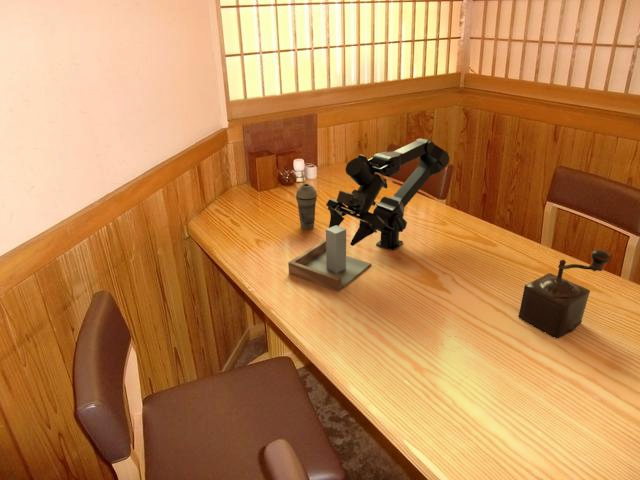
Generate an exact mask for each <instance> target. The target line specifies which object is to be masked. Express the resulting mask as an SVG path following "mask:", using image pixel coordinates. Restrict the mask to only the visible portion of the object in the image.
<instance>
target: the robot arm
mask: <svg viewBox="0 0 640 480" xmlns="http://www.w3.org/2000/svg"><path fill="white" fill-rule="evenodd" d="M418 158H419V159H418ZM416 159H418V166H417V167H416V168H415V169H414V171H413V172H412V173H411V174H410V176H408V178H407V179H406V180H405V181H404V183H403V184H402V185H401V186H400V187H399V189H397V191H396V192H395V193H394V194H393V196H391V197H388V196H383V197H382V198H381V199H380V200H379V202H378V203H377V202H376V201H375V200H376V198H377V197H378V195H379V193H380V192H381V191H382V188H383V189H388V182H387V179H386V178H384V177H388V178H390V177H393V176H394V175H396V174H397V173H398V172H400V171H401V167H403V166H404V165H405V164H408V163H409V162H411V161H414V160H416ZM449 163H450V156H449V152H448V151H446V150H444V149H443V148H441V147H439V146H438V145H436V143H434V142H433V141H432V140H430V139H425V138H420V137H419V138H417V139H416V140H415V141H413V142H410V143H408V144H406V145H404V146H402V147H400V148H398V149H396V150H392V151H381V152H377V153H375V154H373V155H372V157H370V158H369V159H368V158H367V157H366V156H365V155H363V154H359V155H358V156H357V157H356V158H353V159H351V160H350V161H349V162H348V163H347V164H346V165H345V173H346V175H347V176H348V177H350V178H351V180H353V182H354V183H355V184H356V185H358V189H354V190H352V192H347V191H344V190H339V192H338V194H337V198H336V199H335V198H329V199H328V201H327V203H326V204H325V206H326V207H327V210H328V211H329V215H330V219H329V220H330V221H329V224H328V228H330V227H333V226H335V225H337V226H340V225H341V223H342V222H344V220H345V216H347V215H348V216H350V217H353V218H356V219H358V220H359V226H358V229H357V230H356V232H355V234H354V235H353V238H352V239H351V241H350V246H352V247H353V246H356V245H357V244H358V243H359V242H361V241H363V240H365V238H367V237H369V236H371V235H372V234H374V233H375V234H377V233H378V232H380V240H379V241H378V242H376V243H375V245H376V246H377V247H382V248H385V249H387V250H391V251H395V250H396V249H398V247H400V246H401V245H402V244H403V243H404V241H403V240H400V233H402V232H404V230H405V229H406V228H407V224H408V222H407V220H405V219H404V216H405V207H406V206H407V205H408V204H409V203H410V202H411V200H412V199H413V198H414V197H415V195H416V194H417V193H418V192H419V190H420V189H421V188H422V187H423V186H424V184H425V183H426V182H427V181H428V179H429V178H430V177H432V176H433V175H437V174H439V173H441V172H442V171H443V170H444V169H445V168H446V167H447V166H448V164H449ZM382 176H384V177H382ZM372 206H373V207H374V209H373V212H369V210H370V209H371V207H372Z"/></svg>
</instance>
